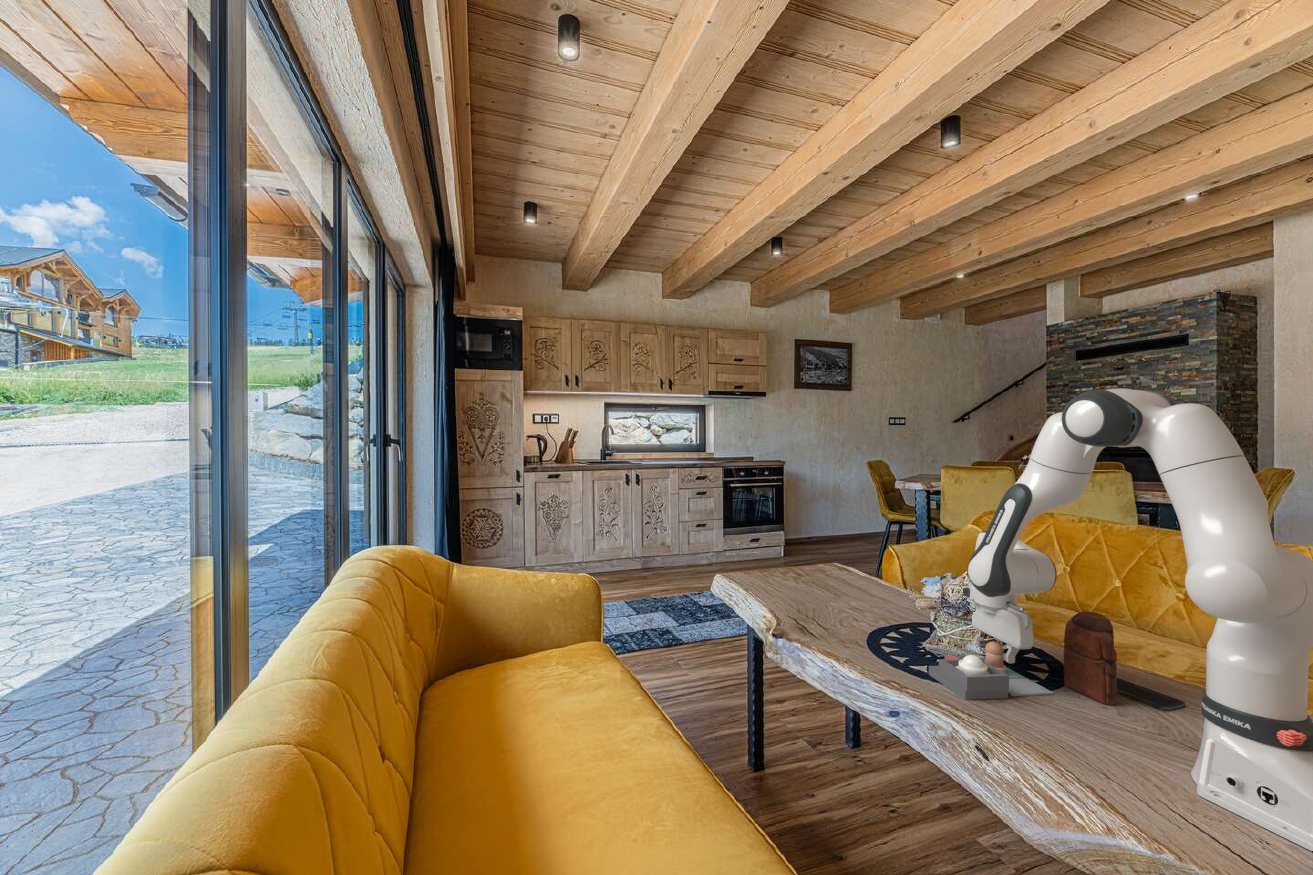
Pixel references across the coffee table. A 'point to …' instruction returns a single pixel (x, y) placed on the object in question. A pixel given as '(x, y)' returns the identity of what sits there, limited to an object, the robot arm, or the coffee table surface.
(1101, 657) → the brown leather bag
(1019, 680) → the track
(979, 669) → the dome
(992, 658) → the pawn
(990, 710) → the coffee table surface
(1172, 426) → the robot arm
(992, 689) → the dome base
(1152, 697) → the phone
